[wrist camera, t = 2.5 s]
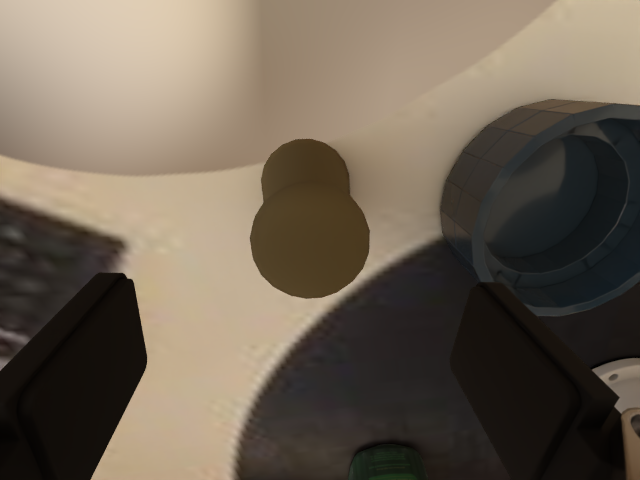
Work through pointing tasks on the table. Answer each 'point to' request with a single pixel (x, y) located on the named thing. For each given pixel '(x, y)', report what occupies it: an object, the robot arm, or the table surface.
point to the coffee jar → (388, 464)
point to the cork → (308, 222)
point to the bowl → (550, 204)
